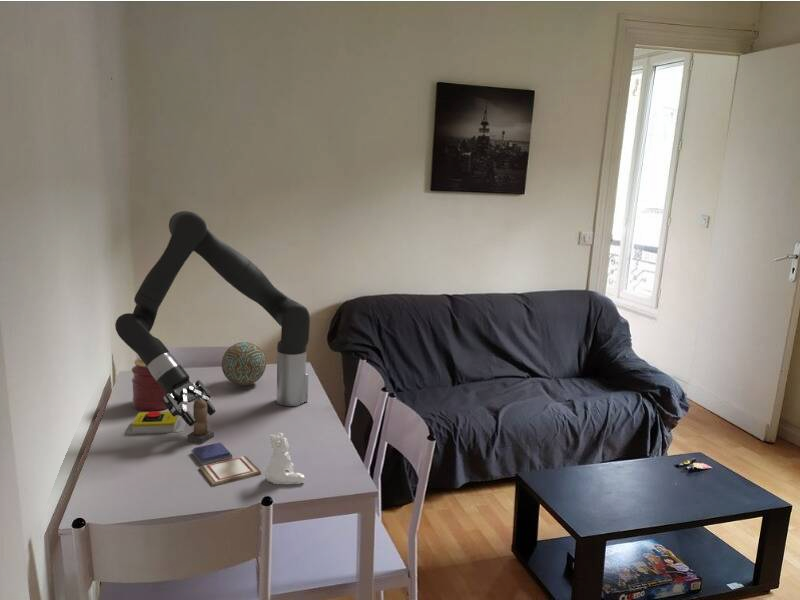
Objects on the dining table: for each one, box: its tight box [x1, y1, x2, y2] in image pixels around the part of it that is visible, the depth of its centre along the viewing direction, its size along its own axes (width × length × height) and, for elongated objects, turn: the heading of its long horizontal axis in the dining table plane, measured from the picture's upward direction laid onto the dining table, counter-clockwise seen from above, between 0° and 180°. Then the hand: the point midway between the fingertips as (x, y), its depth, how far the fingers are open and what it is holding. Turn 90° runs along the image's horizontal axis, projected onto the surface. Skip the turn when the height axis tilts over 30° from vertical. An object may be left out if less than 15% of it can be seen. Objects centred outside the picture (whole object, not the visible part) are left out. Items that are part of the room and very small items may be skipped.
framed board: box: [198, 455, 262, 487], centre depth 150 cm, size 12×10×1 cm
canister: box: [131, 356, 176, 412], centre depth 189 cm, size 13×13×18 cm
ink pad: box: [190, 442, 233, 466], centre depth 158 cm, size 8×8×2 cm
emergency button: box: [126, 410, 187, 435], centre depth 174 cm, size 9×4×15 cm
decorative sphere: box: [221, 341, 267, 386], centre depth 212 cm, size 15×15×15 cm
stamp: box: [186, 398, 215, 444], centre depth 167 cm, size 5×5×11 cm
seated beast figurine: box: [264, 431, 306, 485], centre depth 147 cm, size 10×9×12 cm
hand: (203, 418), depth 167 cm, fingers open, 8 cm apart
